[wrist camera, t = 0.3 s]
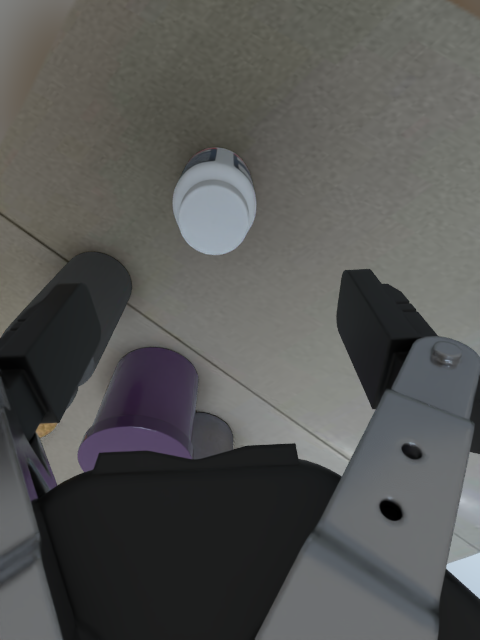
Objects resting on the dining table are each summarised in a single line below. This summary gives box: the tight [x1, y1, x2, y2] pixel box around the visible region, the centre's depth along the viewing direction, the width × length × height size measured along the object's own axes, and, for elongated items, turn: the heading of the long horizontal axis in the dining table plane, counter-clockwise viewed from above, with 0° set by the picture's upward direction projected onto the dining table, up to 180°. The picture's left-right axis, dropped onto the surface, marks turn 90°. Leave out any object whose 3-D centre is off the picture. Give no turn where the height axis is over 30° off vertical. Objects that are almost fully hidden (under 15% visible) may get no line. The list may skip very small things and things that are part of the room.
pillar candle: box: [192, 413, 233, 459], centre depth 37 cm, size 10×10×15 cm
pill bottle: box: [173, 147, 257, 255], centre depth 23 cm, size 5×5×9 cm
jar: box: [78, 347, 199, 472], centre depth 33 cm, size 10×10×10 cm
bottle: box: [2, 252, 132, 438], centre depth 25 cm, size 6×6×15 cm
